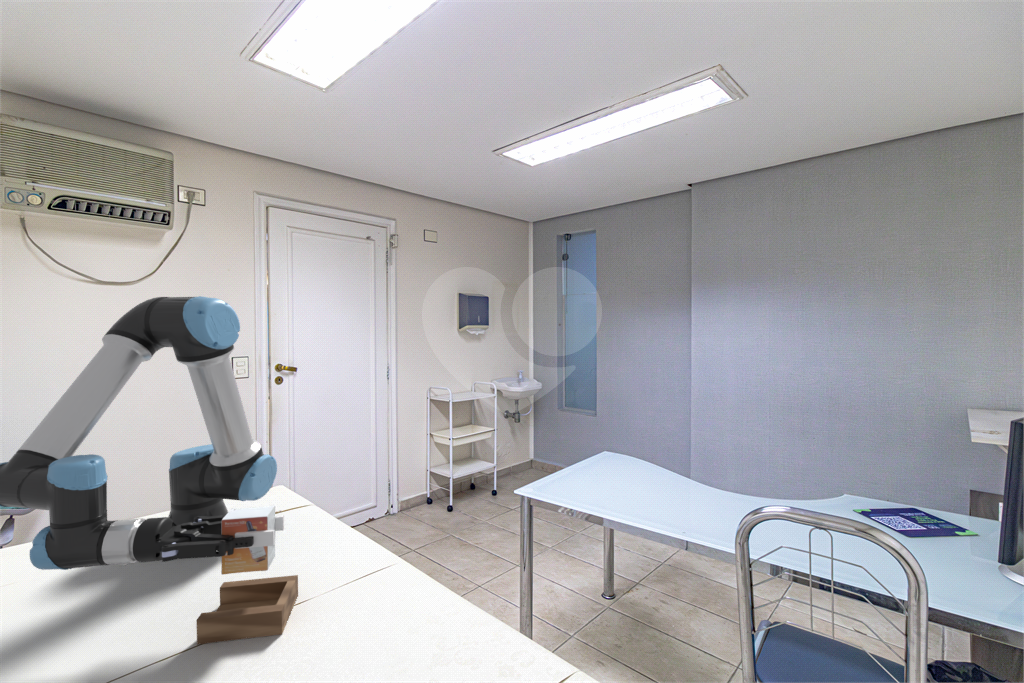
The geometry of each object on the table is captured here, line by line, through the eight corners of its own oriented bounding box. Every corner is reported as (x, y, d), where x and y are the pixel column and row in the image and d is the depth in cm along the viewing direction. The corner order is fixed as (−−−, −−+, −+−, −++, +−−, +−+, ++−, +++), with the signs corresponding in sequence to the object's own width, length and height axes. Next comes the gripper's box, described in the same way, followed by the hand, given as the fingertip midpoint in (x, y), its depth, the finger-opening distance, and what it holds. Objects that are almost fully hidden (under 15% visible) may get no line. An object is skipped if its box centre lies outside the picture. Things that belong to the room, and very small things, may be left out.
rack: (224, 603, 94) (223, 582, 94) (298, 595, 97) (297, 575, 97) (197, 644, 82) (196, 620, 82) (282, 634, 85) (281, 610, 85)
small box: (220, 576, 85) (219, 520, 85) (231, 560, 91) (230, 507, 90) (268, 571, 87) (267, 516, 87) (276, 556, 93) (275, 504, 92)
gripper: (169, 537, 94) (291, 527, 99) (109, 589, 76) (263, 574, 81) (168, 500, 94) (291, 493, 99) (108, 544, 76) (263, 532, 80)
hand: (278, 530), depth 90 cm, fingers closed on small box, 6 cm apart
